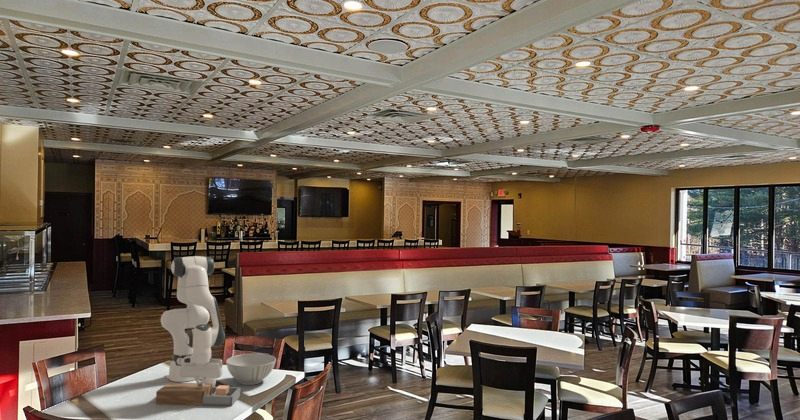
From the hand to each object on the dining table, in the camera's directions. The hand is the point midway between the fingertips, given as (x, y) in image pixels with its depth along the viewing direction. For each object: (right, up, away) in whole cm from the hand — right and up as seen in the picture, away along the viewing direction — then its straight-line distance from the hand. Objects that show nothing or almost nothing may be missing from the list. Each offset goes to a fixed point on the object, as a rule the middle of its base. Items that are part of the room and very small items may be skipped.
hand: (200, 386), depth 263 cm
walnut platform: (-8, -7, 0) cm, 10 cm away
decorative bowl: (+16, -8, +31) cm, 36 cm away
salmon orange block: (+11, -3, 0) cm, 11 cm away
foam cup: (-2, -7, +16) cm, 18 cm away
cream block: (+9, -3, 0) cm, 10 cm away
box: (+11, -7, 0) cm, 13 cm away
